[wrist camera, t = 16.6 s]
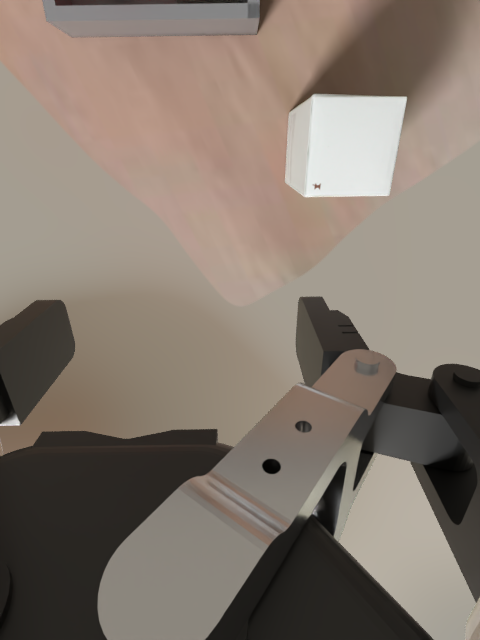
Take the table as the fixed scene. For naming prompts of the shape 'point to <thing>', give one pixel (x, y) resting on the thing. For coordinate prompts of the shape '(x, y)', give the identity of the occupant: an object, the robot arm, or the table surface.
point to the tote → (151, 18)
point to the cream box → (205, 1)
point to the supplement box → (344, 145)
